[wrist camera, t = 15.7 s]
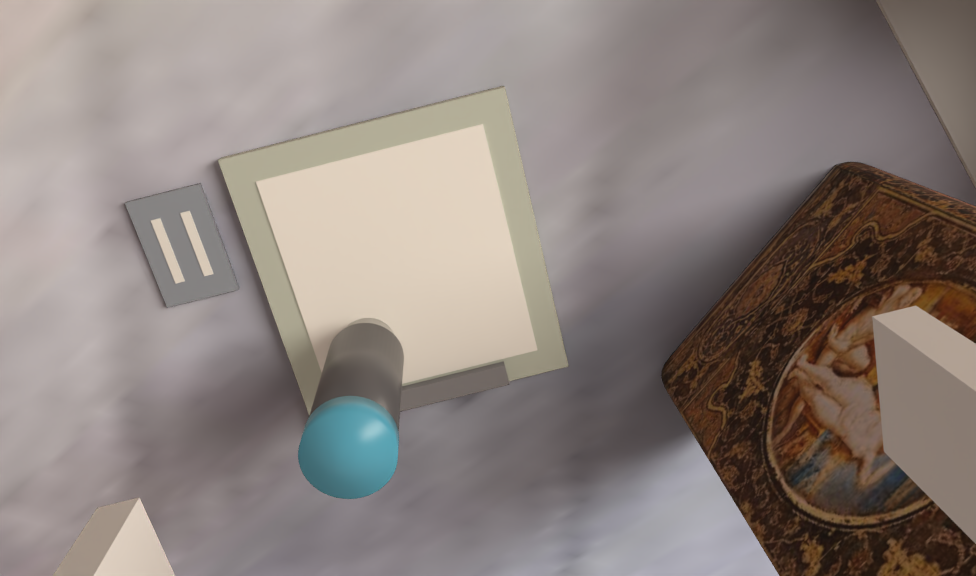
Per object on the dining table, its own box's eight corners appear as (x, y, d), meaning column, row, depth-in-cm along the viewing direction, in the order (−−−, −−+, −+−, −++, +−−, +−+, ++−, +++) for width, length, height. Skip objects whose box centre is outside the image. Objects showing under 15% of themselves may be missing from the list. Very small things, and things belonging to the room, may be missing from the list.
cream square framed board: (221, 157, 43) (215, 162, 41) (503, 85, 42) (505, 88, 41) (316, 422, 48) (312, 434, 47) (566, 360, 48) (570, 370, 46)
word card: (126, 201, 43) (124, 203, 43) (200, 183, 43) (198, 184, 43) (168, 305, 45) (166, 308, 45) (239, 288, 45) (237, 290, 45)
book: (851, 145, 45) (1318, 311, 21) (918, 204, 46) (1428, 420, 22) (655, 372, 48) (867, 726, 25) (723, 419, 50) (985, 798, 26)
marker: (321, 318, 45) (285, 425, 34) (394, 300, 45) (382, 401, 34) (343, 384, 46) (315, 508, 35) (414, 366, 46) (408, 485, 35)
